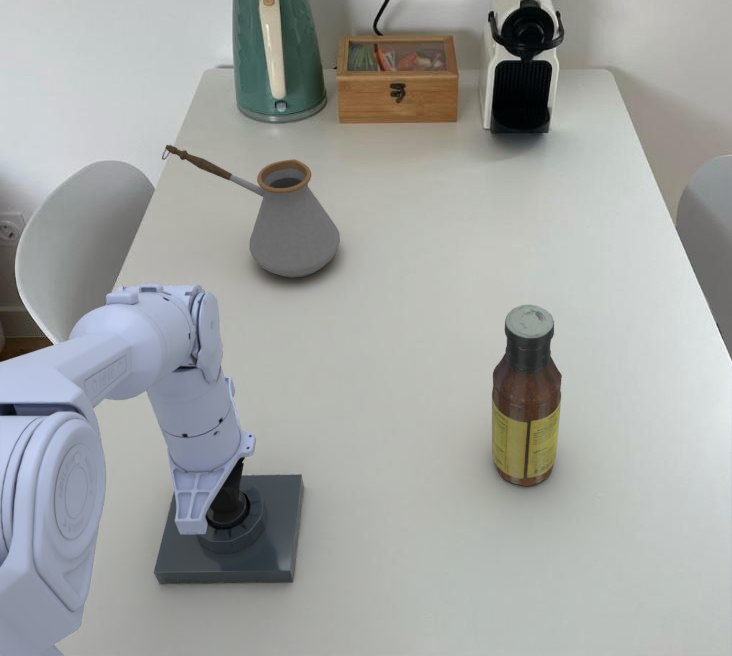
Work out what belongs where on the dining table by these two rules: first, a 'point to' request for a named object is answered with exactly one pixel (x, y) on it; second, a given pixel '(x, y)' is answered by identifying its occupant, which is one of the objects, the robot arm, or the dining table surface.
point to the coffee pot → (283, 217)
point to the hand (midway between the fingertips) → (226, 505)
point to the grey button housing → (239, 539)
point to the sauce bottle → (526, 399)
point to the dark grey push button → (229, 516)
